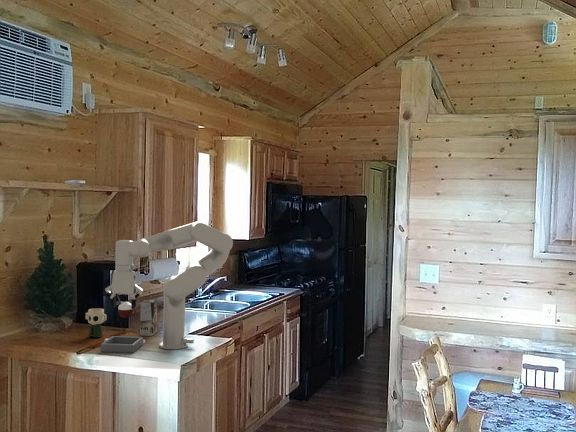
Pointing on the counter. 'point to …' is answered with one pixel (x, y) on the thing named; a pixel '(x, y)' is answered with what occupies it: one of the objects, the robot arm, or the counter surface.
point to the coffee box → (148, 318)
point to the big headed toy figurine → (96, 321)
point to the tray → (122, 344)
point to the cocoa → (125, 309)
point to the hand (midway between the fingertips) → (123, 307)
